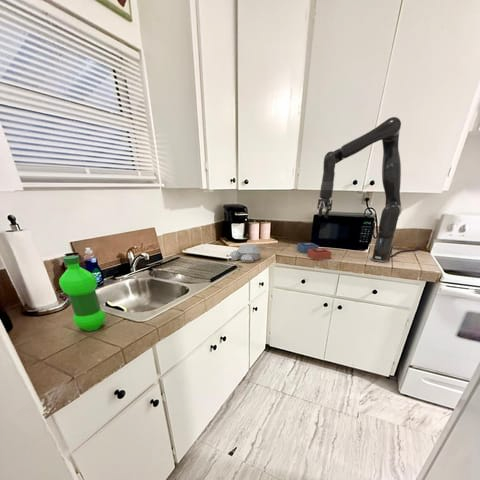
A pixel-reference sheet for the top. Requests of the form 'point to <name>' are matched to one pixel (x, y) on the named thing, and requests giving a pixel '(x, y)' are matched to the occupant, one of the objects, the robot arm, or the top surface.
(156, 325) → the top surface
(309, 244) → the blue block
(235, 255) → the rock
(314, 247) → the blue bin
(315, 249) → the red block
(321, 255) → the red bin
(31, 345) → the top surface
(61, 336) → the top surface
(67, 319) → the top surface
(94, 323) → the plastic bottle
